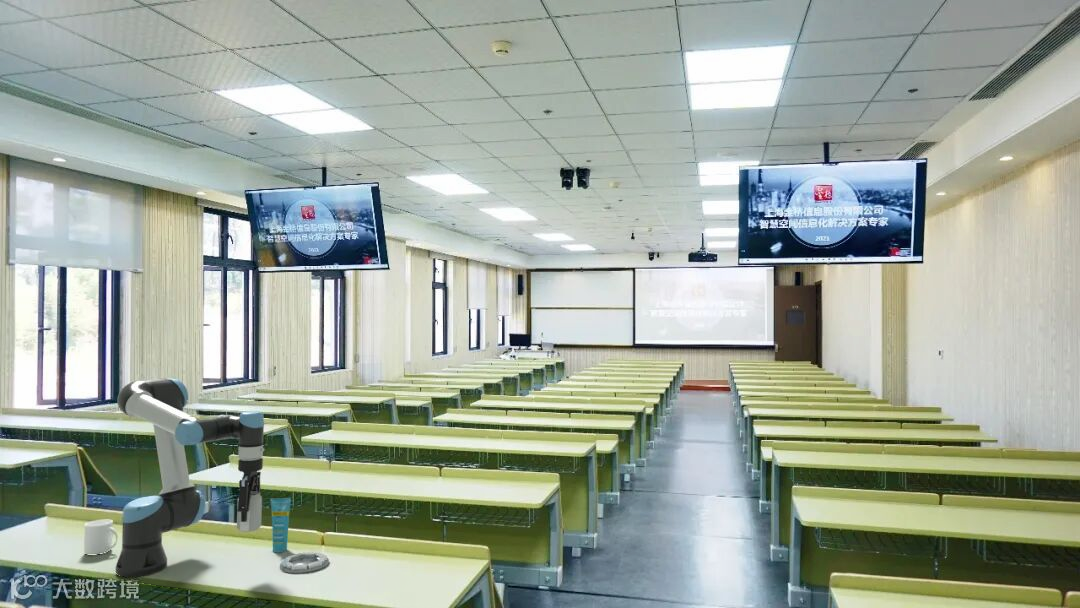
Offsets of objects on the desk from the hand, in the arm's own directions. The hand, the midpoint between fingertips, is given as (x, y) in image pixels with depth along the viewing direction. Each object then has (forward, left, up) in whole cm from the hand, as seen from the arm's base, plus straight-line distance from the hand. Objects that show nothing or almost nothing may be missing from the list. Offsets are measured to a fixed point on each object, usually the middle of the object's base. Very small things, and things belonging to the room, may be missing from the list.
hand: (248, 527), depth 224 cm
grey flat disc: (+16, +8, -16) cm, 24 cm away
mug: (-61, +27, -16) cm, 68 cm away
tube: (+3, +24, -16) cm, 29 cm away
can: (0, 0, -1) cm, 1 cm away
